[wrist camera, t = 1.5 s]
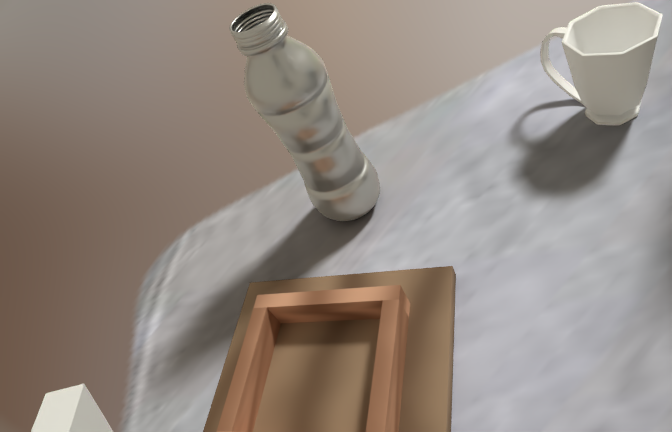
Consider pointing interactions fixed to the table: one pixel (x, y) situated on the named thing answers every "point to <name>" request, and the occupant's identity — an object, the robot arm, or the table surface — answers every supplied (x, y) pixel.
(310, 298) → the collar board
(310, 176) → the plastic bottle
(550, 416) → the table surface
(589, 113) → the cup
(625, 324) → the table surface
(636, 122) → the table surface
